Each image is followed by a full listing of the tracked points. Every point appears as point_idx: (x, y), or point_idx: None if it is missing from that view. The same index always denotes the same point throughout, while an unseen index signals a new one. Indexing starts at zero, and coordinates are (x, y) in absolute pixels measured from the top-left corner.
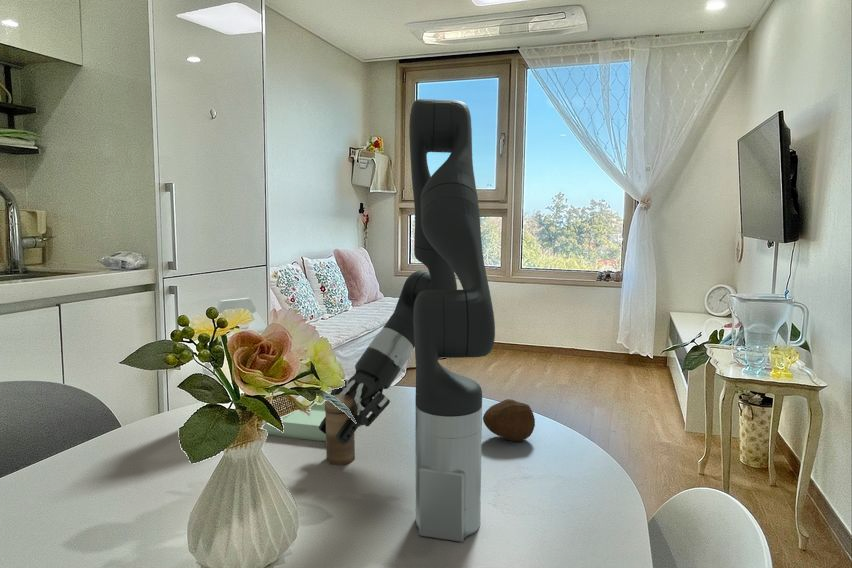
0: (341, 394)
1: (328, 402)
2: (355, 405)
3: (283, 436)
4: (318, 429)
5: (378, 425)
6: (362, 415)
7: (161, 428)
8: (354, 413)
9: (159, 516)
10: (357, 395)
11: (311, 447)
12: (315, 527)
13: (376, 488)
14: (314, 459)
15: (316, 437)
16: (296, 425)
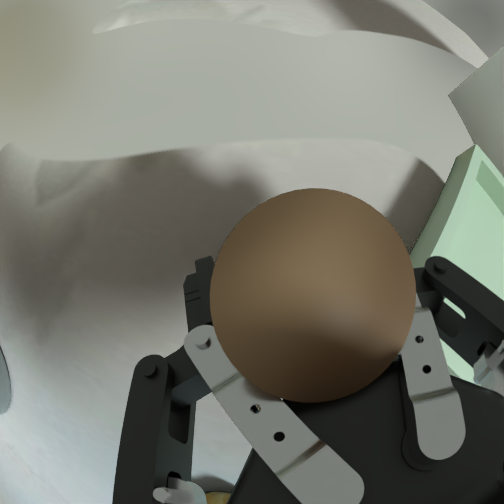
0: (408, 332)
1: (281, 198)
2: (223, 384)
3: (443, 188)
4: (422, 259)
5: None
6: (141, 381)
7: (469, 56)
8: (203, 358)
9: (190, 4)
10: (285, 433)
11: None
12: (30, 172)
13: (80, 321)
14: None
15: (412, 256)
16: (450, 205)
